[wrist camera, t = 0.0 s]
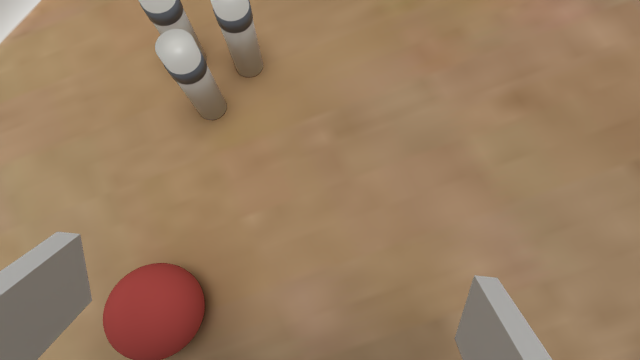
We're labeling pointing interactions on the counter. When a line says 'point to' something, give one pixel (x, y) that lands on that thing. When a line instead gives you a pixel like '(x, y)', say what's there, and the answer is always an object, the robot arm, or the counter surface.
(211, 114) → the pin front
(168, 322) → the ball
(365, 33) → the counter surface
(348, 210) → the counter surface
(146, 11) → the pin
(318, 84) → the counter surface
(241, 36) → the pin
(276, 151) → the counter surface
